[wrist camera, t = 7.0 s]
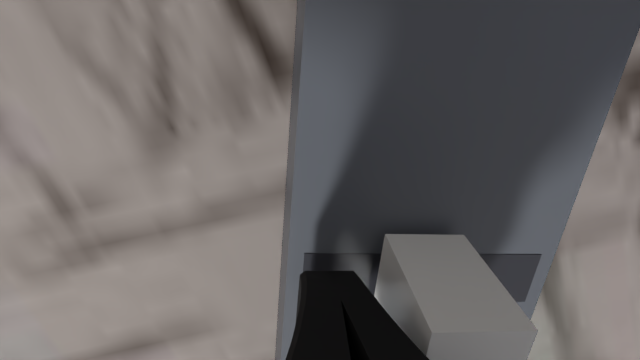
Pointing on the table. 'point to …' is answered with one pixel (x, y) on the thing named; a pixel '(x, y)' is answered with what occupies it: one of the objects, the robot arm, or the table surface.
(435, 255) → the tab
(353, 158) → the switch block
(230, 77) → the table surface
